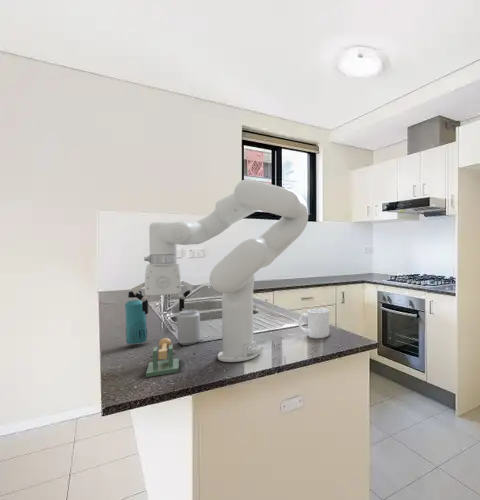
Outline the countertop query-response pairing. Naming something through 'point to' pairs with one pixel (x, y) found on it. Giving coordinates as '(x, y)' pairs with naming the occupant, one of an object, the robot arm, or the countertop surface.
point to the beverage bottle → (135, 321)
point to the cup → (316, 323)
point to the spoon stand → (162, 364)
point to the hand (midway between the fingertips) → (163, 312)
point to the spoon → (164, 348)
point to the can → (188, 327)
